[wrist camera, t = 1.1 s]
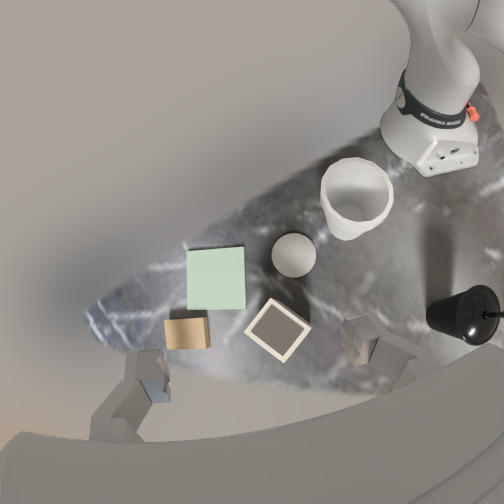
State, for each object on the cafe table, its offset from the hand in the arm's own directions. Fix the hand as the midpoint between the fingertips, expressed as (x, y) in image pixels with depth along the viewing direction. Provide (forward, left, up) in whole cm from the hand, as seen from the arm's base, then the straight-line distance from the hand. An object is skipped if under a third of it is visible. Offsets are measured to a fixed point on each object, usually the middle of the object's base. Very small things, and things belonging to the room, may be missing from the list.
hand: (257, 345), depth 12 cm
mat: (+12, -7, -33) cm, 36 cm away
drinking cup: (-25, +2, -34) cm, 42 cm away
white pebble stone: (-1, -10, -34) cm, 35 cm away
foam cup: (-10, -15, -34) cm, 38 cm away
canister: (+1, +1, -34) cm, 34 cm away
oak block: (+17, +2, -34) cm, 38 cm away
